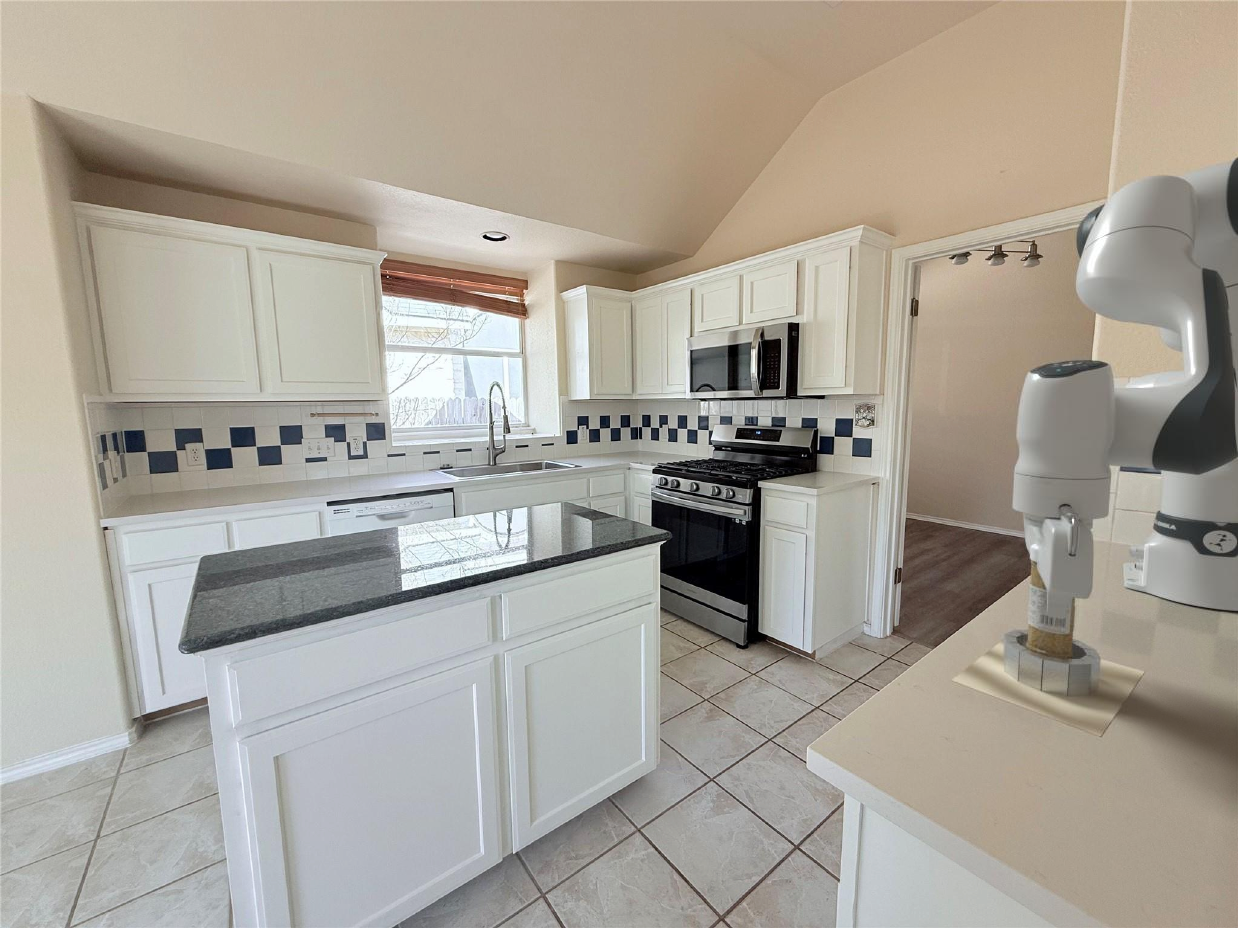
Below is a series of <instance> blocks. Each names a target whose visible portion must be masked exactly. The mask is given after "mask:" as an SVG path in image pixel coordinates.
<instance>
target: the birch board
mask: <svg viewBox="0 0 1238 928" xmlns="http://www.w3.org/2000/svg"><path fill="white" fill-rule="evenodd" d="M1003 649H1004V638H1003V639H1002V640H1000V642H998V643H997V644H996V645H995V646H993V647H992V648H991V649H990V650H988V651H987V652H985V653H984V654H983V655H982V656H980V657H979V658H978V659H976V660H975V661H974V662H973V663H971V664H970V665H968V666H967V667H966V668H965V669H963V670H962V671H960V673H959V674H957V675H956V676H954V677H953V678H952V679H951V680H950V681H951V682H954V683H957V684H959V685H963V686H965V687H967V688H970V689H973V690H975V691H978V692H981V693H983V694H985V695H989V696H991V697H994V698H996V699H1000V700H1002V701H1005V702H1007V703H1010V704H1013V705H1015V706H1017V707H1019V708H1022V709H1025V710H1028V711H1031V712H1033V713H1036V714H1038V715H1041V716H1043V717H1047V718H1049V719H1051V720H1054V721H1057V722H1060V723H1062V724H1065V725H1067V726H1070V727H1073V728H1076V729H1078V730H1081V731H1084V732H1086V733H1089V734H1091V735H1094V736H1097V737H1100V738H1102V736H1103V735H1104V733H1105V731H1106V730H1107V728H1108V727H1109V726H1110V725H1111V722H1112V721H1113V719H1114V718H1115V716H1117V713H1118V712H1119V711H1120V710H1121V708H1122V706H1123V705H1124V703H1125V702H1126V701H1127V699H1128V697H1129V696H1130V694H1131V693H1132V691H1134V689H1135V687H1136V686H1137V684H1138V683H1139V681H1140V680H1141V678H1142V677H1143V675H1144V674H1145V671H1143V670H1139V669H1137V668H1133V667H1130V666H1126V665H1123V664H1122V665H1121V664H1119V663H1116V662H1112V661H1109V660H1105V659H1102V658H1101V663H1100V676H1099V689H1098V691H1097V692H1095V693H1093V694H1092V695H1090V696H1074V697H1068V696H1062V695H1058V694H1053V693H1048V692H1043V691H1040V690H1037V689H1035V688H1032V687H1030V686H1027V685H1025V684H1022V683H1020V682H1018V681H1016V680H1015V679H1014V678H1012V677H1011V676H1010V675H1008V674H1007V673H1006V672H1005V671H1004V667H1003Z"/></svg>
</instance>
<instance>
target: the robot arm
mask: <svg viewBox="0 0 1238 928" xmlns="http://www.w3.org/2000/svg"><path fill="white" fill-rule="evenodd" d="M1075 239H1076V242H1075V243H1076V249H1077V254H1078V256H1079V264H1078V268H1077V271H1076V278H1075V291H1076V294H1077V296H1078V299H1079V300H1080V301H1081V303H1082V304H1083V305H1084V306H1085V307H1086V308H1088V309H1089V310H1090V311H1092V312H1093V313H1095V314H1097V315H1099V316H1102V317H1104V318H1107V319H1110V320H1113V321H1116V322H1117V321H1118V322H1121V323H1122V322H1123V323H1130V324H1131V323H1132V324H1141V325H1146V326H1151V327H1157V328H1158V331H1159V337H1160V339H1161V341H1162V342H1163V343H1164V345H1166V347H1168V348H1169V349H1171V350H1174V351H1177V352H1180V353H1182V364H1183V365H1182V368H1183V369H1179V370H1177V369H1176V370H1167V371H1162V372H1156V373H1150V374H1146V375H1142V376H1138V377H1134V378H1133V379H1131V380H1130V381H1129V382H1128V383H1127V384H1126V385H1125V386H1124V387H1117V388H1116V387H1115V381H1114V375H1113V370H1112V366H1111V364H1109V363H1108V362H1104V361H1101V360H1093V359H1081V360H1079V359H1078V360H1076V359H1075V360H1065V361H1059V362H1055V363H1053V362H1051V363H1045V364H1043V365H1039V366H1036V367H1035V368H1033V369H1030V370H1029V371H1027V374H1026V376H1025V380H1024V383H1023V385H1022V390H1021V394H1020V400H1019V403H1018V404H1019V405H1018V411H1017V412H1018V413H1017V417H1016V418H1017V420H1016V421H1017V422H1016V432H1015V433H1016V434H1015V435H1016V442H1017V445H1018V449H1019V450H1018V459H1017V461H1016V464H1015V466H1014V471H1013V486H1012V487H1013V488H1012V489H1013V491H1012V506H1011V507H1012V509H1013V510H1015V511H1016V512H1020V513H1022V515H1023V529H1024V539H1025V546H1026V549H1027V551H1028V554H1030V548H1031V545H1033V544H1036V545H1037V547H1038V560H1037V570H1038V572H1039V574H1040V576H1041V578H1042V580H1043V583H1044V585H1045V587H1046V589H1047V599H1046V607H1045V610H1046V612H1047V615H1048V616H1049V617H1052V618H1059V619H1064V618H1066V617H1067V607H1068V604H1069V601H1070V598H1071V597H1072V598H1075V599H1082V600H1083V599H1084V600H1087V599H1089V598H1090V597H1091V594H1092V591H1093V586H1094V584H1093V583H1094V554H1095V552H1094V547H1095V546H1094V535H1093V532H1092V529H1093V525H1094V520H1100V519H1104V518H1108V517H1109V514H1110V513H1109V511H1110V499H1111V485H1112V469H1111V467H1123V468H1124V467H1125V468H1126V467H1127V468H1128V467H1129V468H1141V469H1142V468H1144V469H1156V470H1157V471H1160V475H1161V481H1160V482H1161V483H1160V484H1161V486H1160V487H1161V489H1160V490H1161V491H1160V507H1159V510H1158V511H1156V514H1155V517H1154V518H1153V527H1152V529H1153V530H1154V531H1153V532H1152V533H1151V534H1150V535H1148V536H1147V538H1145V539H1144V540H1143V541H1142V542H1141V544H1140V546H1129V551H1128V552H1129V555H1128V556H1129V557H1128V558H1129V559H1134V560H1139V562H1138V561H1137V562H1136V561H1135V562H1124V563H1123V566H1122V573H1123V574H1122V575H1123V577H1122V579H1123V587H1124V588H1127V589H1129V590H1135V591H1138V592H1139V591H1140V592H1143V593H1147V594H1149V595H1154V596H1156V597H1158V598H1161V599H1166V600H1170V601H1173V602H1177V603H1181V604H1186V605H1191V606H1195V607H1196V606H1197V607H1201V608H1202V607H1203V608H1206V609H1207V608H1209V609H1215V610H1223V611H1237V612H1238V156H1237V157H1236V158H1235V159H1234V160H1232V161H1226V162H1223V163H1219V164H1214V165H1210V166H1207V167H1202V168H1200V169H1196V170H1192V171H1188V172H1185V173H1182V174H1180V175H1176V176H1174V175H1166V174H1164V175H1163V174H1159V175H1158V174H1157V175H1152V176H1147V177H1143V178H1139V179H1137V180H1134V181H1132V182H1130V183H1128V184H1126V185H1124V186H1123V187H1120V188H1119V189H1118V190H1117V191H1116V192H1114V194H1113V193H1112V195H1111V196H1110V197H1109V199H1108V200H1107V201H1106V202H1105V203H1103V204H1101V205H1099V206H1098V207H1096V208H1094V209H1093V210H1090V211H1089V212H1088V213H1087V215H1086V216H1085V217H1084V218H1083V219H1082V221H1081V222H1080V223H1079V225H1078V227H1077V231H1076V237H1075ZM1069 554H1070V555H1072V556H1070V555H1069ZM1074 555H1076V556H1074Z"/></svg>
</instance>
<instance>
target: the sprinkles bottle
mask: <svg viewBox="0 0 1238 928" xmlns="http://www.w3.org/2000/svg"><path fill="white" fill-rule="evenodd" d="M1069 555H1070V554H1069ZM1070 556H1072V555H1070ZM1074 556H1076V555H1074ZM1029 559H1030V564H1031V568H1030V582H1029V592H1028V594H1029V595H1028V596H1029V598H1028V614H1027V615H1028V616H1027V625H1028V628H1027V630H1028V641H1027V643H1026V646H1027V648H1028V649H1029V650H1031V651H1033V652H1036V653H1039V654H1042V655H1044V656H1049V657H1055V658H1060V659H1068V658H1071V657H1072V656H1073V651H1072V640H1073V639H1074V638H1073V637H1074V636H1073V635H1074V631H1075V622H1076V621H1075V620H1076V619H1075V618H1076V617H1075V616H1076V604H1075V603H1076V598H1072V597H1071V598H1070V601H1069V604H1068V607H1067V617H1066V618H1064V619H1059V618H1052V617H1049V616H1048V615H1047V612H1046V610H1045V607H1046V599H1047V589H1046V587H1045V585H1044V583H1043V580H1042V578H1041V576H1040V574H1039V572H1038V570H1037V560H1038V547H1037V545H1036V544H1033V545H1031V548H1030V553H1029Z"/></svg>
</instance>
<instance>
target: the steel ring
mask: <svg viewBox="0 0 1238 928" xmlns="http://www.w3.org/2000/svg"><path fill="white" fill-rule="evenodd" d="M1003 639H1004V649H1003V667H1004V671H1005V672H1006V673H1007V674H1008V675H1010V676H1011V677H1012V678H1014V679H1015V680H1016V681H1018V682H1020V683H1022V684H1025V685H1027V686H1030V687H1032V688H1035V689H1037V690H1040V691H1043V692H1048V693H1053V694H1058V695H1062V696H1068V697H1074V696H1090V695H1092V694H1093V693H1095V692H1097V691H1098V689H1099V676H1100V663H1101V659H1102V658H1101V656H1100V654H1099V653H1098V651H1097V649H1095V648H1094V647H1092V646H1090V645H1088V644H1087V643H1085V642H1083V641H1081V640H1079V639H1075V638H1073V640H1072V651H1073V656H1072V657H1071V658H1068V659H1060V658H1055V657H1049V656H1044V655H1042V654H1039V653H1036V652H1033V651H1031V650H1029V649H1028V648H1027V646H1026V643H1027V641H1028V629H1013V630H1011V631H1008V632H1006V633H1005V634H1004V635H1003Z"/></svg>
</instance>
